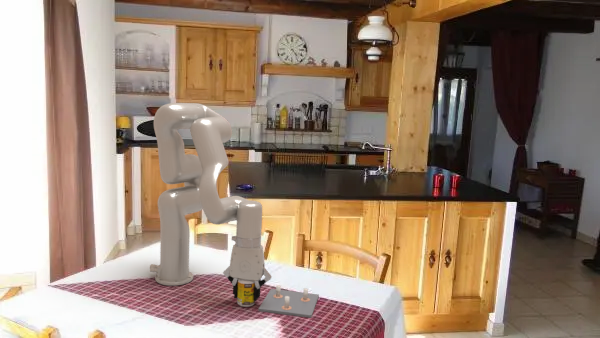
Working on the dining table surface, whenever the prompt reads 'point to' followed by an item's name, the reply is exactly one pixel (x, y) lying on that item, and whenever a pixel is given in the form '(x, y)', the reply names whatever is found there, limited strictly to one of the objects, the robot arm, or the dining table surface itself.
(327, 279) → the dining table surface
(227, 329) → the dining table surface
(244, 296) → the supplement bottle
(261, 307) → the peg board
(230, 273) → the robot arm
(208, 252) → the dining table surface
